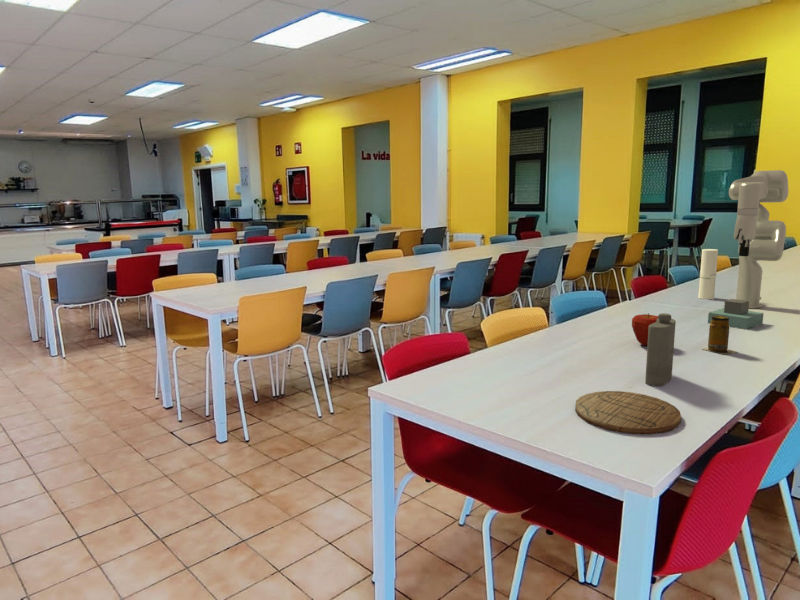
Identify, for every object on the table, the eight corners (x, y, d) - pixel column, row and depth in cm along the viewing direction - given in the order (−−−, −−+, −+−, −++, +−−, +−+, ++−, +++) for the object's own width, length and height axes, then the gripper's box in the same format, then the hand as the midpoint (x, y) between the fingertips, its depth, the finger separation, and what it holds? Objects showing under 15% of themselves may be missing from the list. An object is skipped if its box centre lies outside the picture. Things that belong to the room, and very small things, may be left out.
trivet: (660, 445, 126) (660, 437, 126) (557, 417, 143) (558, 410, 143) (693, 412, 144) (694, 405, 144) (599, 391, 161) (599, 384, 161)
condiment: (715, 346, 202) (717, 314, 200) (737, 352, 195) (741, 318, 192) (701, 349, 199) (704, 316, 197) (724, 355, 191) (727, 321, 189)
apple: (631, 347, 203) (632, 315, 200) (630, 340, 213) (631, 309, 210) (664, 350, 199) (667, 316, 197) (662, 342, 209) (664, 310, 207)
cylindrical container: (716, 299, 285) (721, 250, 280) (702, 299, 285) (706, 250, 281) (709, 296, 292) (713, 248, 288) (695, 297, 292) (699, 249, 288)
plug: (730, 319, 240) (732, 298, 238) (747, 322, 234) (749, 301, 233) (723, 321, 236) (724, 300, 234) (739, 324, 231) (741, 303, 229)
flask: (664, 388, 161) (669, 320, 158) (643, 384, 165) (647, 317, 161) (675, 374, 173) (679, 310, 170) (655, 371, 177) (659, 308, 173)
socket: (724, 317, 245) (725, 307, 245) (762, 323, 234) (763, 313, 233) (707, 322, 237) (708, 312, 236) (746, 329, 225) (747, 318, 224)
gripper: (746, 211, 244) (742, 253, 248) (729, 213, 235) (726, 256, 239) (765, 212, 238) (760, 255, 242) (749, 213, 229) (745, 258, 233)
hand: (743, 255), depth 240 cm, fingers closed
